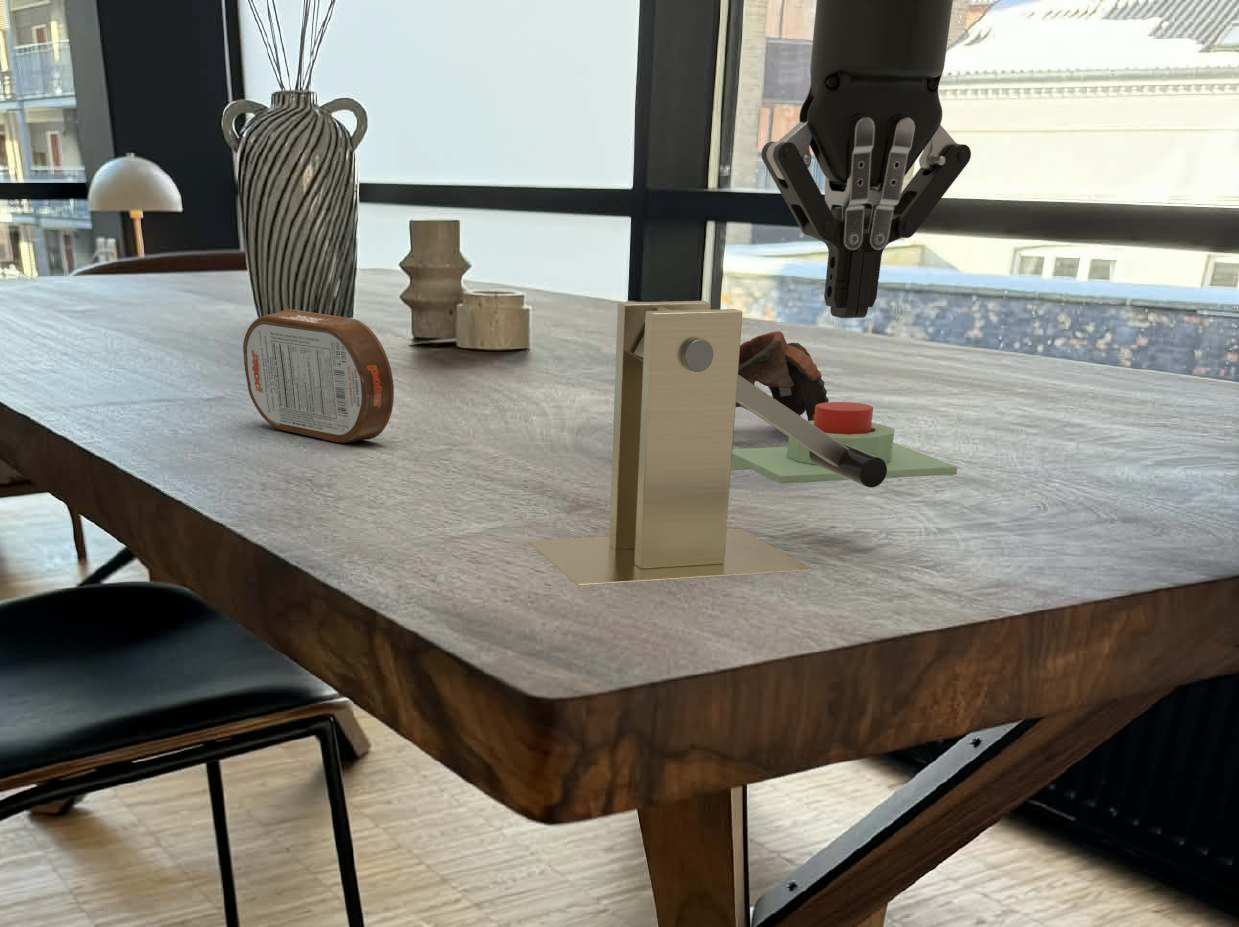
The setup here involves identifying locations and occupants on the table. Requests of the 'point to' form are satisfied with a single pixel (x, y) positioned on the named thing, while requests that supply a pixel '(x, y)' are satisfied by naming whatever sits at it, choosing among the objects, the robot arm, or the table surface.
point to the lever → (806, 434)
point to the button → (843, 417)
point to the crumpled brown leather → (783, 372)
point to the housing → (799, 468)
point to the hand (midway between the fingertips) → (848, 316)
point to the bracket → (671, 456)
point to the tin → (318, 375)
